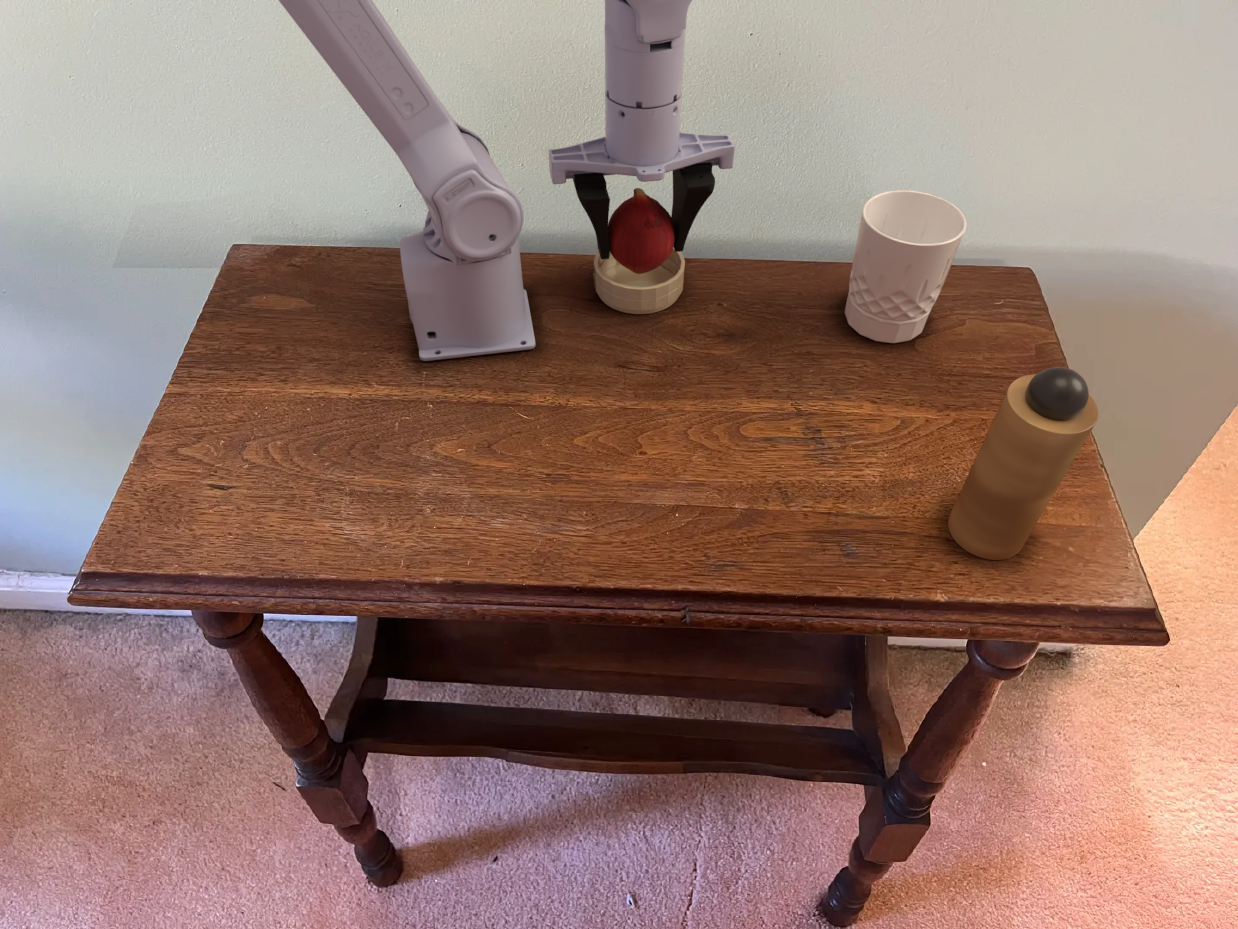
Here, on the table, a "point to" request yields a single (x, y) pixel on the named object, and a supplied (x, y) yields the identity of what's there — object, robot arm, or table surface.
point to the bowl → (639, 284)
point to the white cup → (901, 263)
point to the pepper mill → (1022, 462)
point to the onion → (641, 233)
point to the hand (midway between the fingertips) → (639, 248)
